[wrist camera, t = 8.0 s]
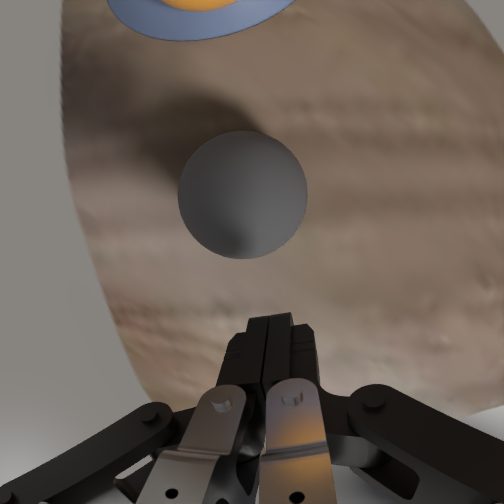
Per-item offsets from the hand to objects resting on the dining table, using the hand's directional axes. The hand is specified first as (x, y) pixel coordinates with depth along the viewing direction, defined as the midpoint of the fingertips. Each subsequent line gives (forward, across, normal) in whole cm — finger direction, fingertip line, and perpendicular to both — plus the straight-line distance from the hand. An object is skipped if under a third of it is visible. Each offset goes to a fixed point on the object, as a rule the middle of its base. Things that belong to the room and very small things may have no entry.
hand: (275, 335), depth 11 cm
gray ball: (+5, +1, -4) cm, 7 cm away
